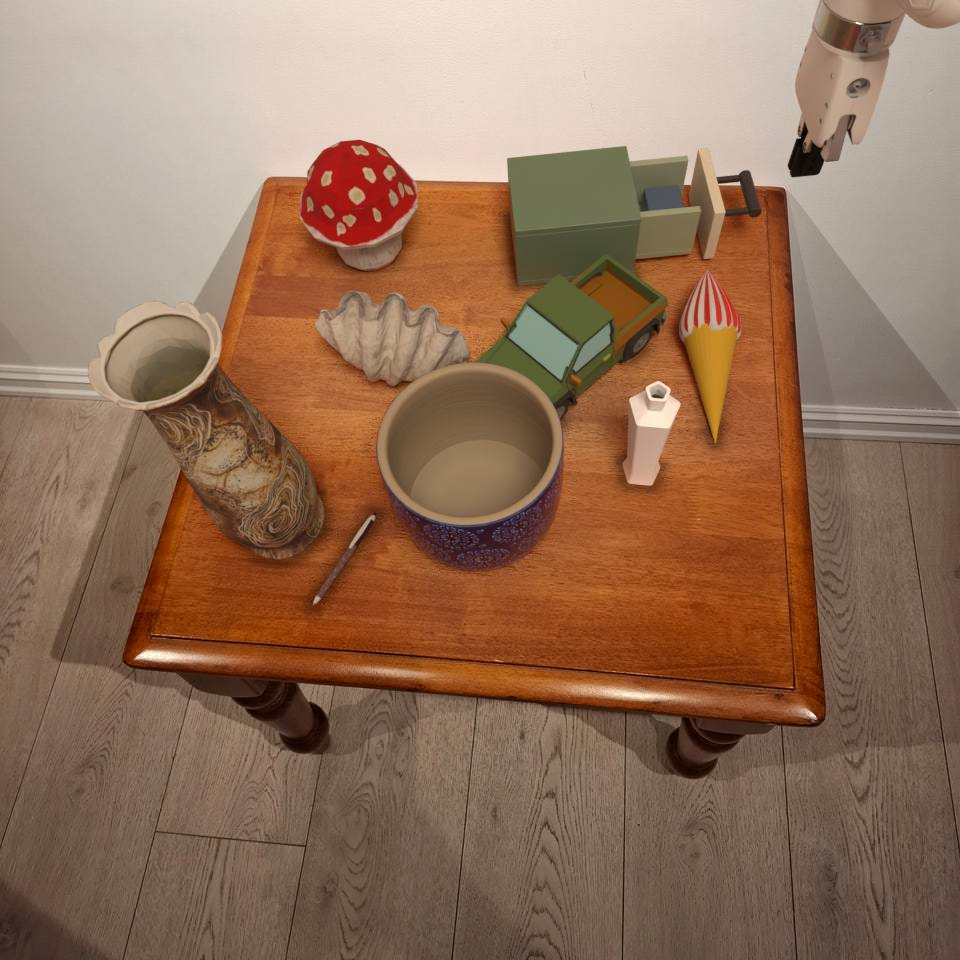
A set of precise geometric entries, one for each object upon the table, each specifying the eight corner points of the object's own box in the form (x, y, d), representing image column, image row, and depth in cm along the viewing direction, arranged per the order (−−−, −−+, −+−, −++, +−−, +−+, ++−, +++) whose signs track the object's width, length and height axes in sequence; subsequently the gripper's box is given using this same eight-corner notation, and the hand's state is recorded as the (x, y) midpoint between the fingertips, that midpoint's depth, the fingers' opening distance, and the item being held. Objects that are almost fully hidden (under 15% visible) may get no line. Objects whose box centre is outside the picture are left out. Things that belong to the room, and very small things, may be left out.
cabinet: (620, 204, 103) (626, 145, 95) (633, 275, 98) (641, 218, 90) (509, 215, 104) (506, 157, 96) (517, 286, 99) (515, 231, 91)
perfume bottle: (669, 485, 86) (692, 408, 72) (627, 493, 86) (642, 417, 72) (657, 446, 88) (677, 365, 75) (616, 454, 88) (629, 374, 74)
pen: (373, 512, 87) (371, 508, 86) (379, 516, 87) (378, 512, 86) (310, 604, 83) (308, 601, 82) (317, 608, 83) (314, 605, 82)
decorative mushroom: (413, 303, 99) (392, 209, 85) (301, 289, 101) (264, 195, 87) (439, 215, 105) (424, 114, 91) (333, 203, 107) (303, 103, 93)
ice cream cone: (697, 455, 92) (690, 286, 96) (755, 447, 88) (745, 271, 93) (673, 443, 87) (667, 266, 92) (732, 433, 83) (723, 249, 88)
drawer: (738, 191, 102) (752, 142, 95) (756, 254, 97) (771, 207, 91) (595, 205, 102) (598, 158, 96) (606, 268, 98) (610, 223, 91)
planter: (589, 478, 87) (597, 402, 73) (514, 615, 81) (508, 559, 68) (451, 417, 91) (434, 334, 78) (370, 542, 85) (338, 476, 72)
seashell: (373, 306, 99) (356, 247, 90) (479, 359, 94) (472, 303, 86) (320, 369, 95) (297, 314, 86) (427, 427, 91) (414, 375, 82)
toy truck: (464, 390, 93) (455, 336, 84) (598, 280, 98) (604, 218, 89) (536, 455, 88) (536, 404, 80) (673, 336, 94) (686, 276, 85)
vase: (315, 572, 84) (208, 419, 57) (215, 559, 86) (65, 404, 59) (339, 480, 89) (250, 299, 62) (244, 469, 90) (117, 287, 63)
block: (674, 210, 100) (678, 184, 96) (680, 235, 98) (685, 210, 94) (640, 213, 100) (643, 188, 96) (645, 239, 98) (649, 214, 94)
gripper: (924, 67, 73) (854, 218, 90) (877, -39, 80) (820, 120, 96) (838, 75, 74) (783, 225, 90) (798, -31, 80) (754, 127, 97)
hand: (802, 170), depth 93 cm, fingers closed
